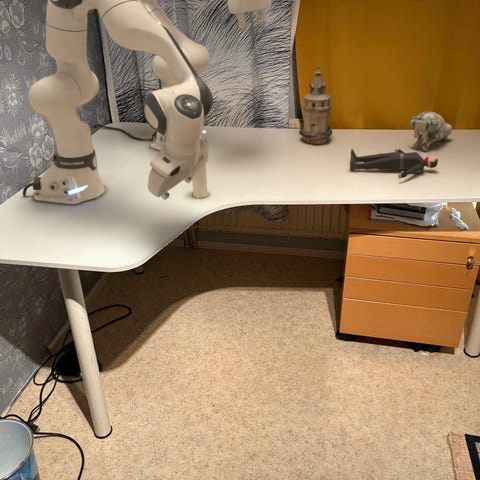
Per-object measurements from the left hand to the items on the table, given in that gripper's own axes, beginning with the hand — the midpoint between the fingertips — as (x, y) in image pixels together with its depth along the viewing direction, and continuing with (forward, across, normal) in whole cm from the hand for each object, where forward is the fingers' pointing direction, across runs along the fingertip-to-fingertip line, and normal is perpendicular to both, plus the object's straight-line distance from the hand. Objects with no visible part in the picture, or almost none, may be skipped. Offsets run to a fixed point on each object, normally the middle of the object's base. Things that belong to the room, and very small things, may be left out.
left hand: (176, 189), depth 150 cm
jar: (+18, -18, -4) cm, 26 cm away
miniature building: (+29, -85, +2) cm, 90 cm away
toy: (+12, -75, +37) cm, 84 cm away
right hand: (-18, -57, -23) cm, 65 cm away
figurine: (+17, -106, +40) cm, 115 cm away
